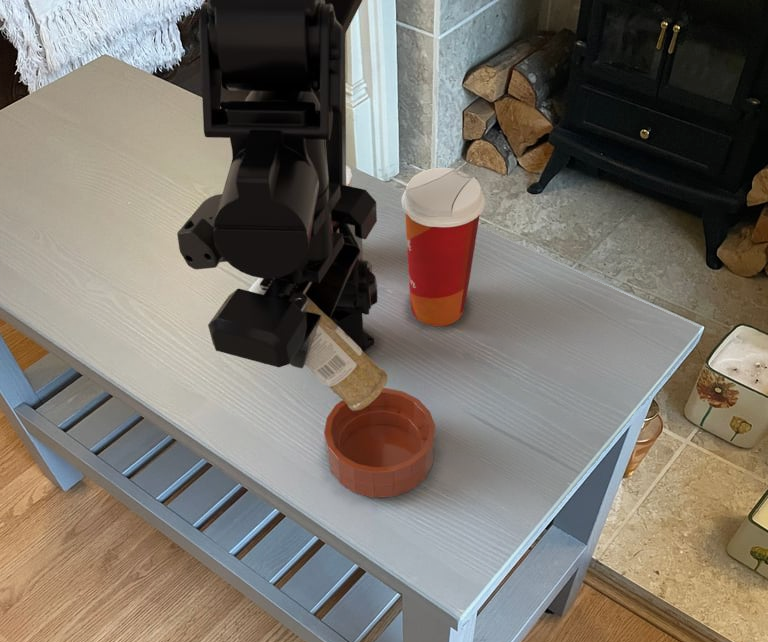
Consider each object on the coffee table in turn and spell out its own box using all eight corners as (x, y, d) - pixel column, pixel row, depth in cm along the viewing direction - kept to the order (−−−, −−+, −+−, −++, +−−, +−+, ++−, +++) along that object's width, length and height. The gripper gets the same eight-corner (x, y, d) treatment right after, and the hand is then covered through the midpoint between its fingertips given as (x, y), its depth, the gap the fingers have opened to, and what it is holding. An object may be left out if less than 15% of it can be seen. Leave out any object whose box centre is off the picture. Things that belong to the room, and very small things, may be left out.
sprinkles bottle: (395, 366, 71) (284, 253, 65) (381, 401, 68) (263, 286, 62) (360, 387, 74) (251, 281, 68) (345, 420, 71) (230, 313, 65)
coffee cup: (430, 274, 94) (435, 154, 82) (488, 304, 91) (502, 184, 78) (385, 312, 90) (383, 193, 78) (444, 344, 87) (451, 225, 75)
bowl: (455, 458, 78) (457, 428, 75) (378, 520, 74) (377, 491, 71) (382, 403, 83) (381, 371, 79) (306, 458, 79) (301, 428, 75)
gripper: (243, 96, 63) (270, 261, 76) (117, 238, 53) (172, 400, 66) (376, 121, 60) (380, 287, 73) (270, 275, 51) (296, 435, 63)
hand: (308, 347), depth 69 cm, fingers closed on sprinkles bottle, 4 cm apart
